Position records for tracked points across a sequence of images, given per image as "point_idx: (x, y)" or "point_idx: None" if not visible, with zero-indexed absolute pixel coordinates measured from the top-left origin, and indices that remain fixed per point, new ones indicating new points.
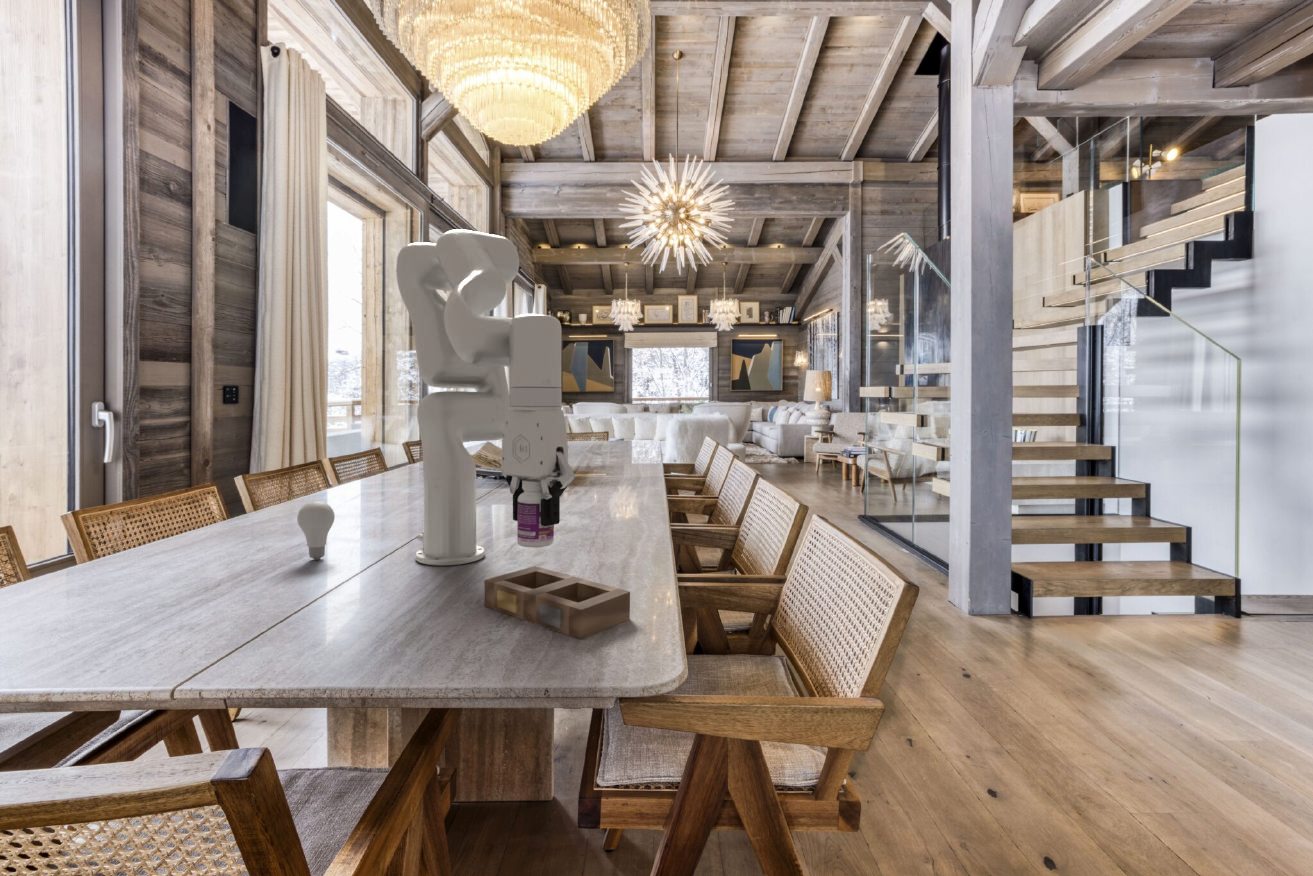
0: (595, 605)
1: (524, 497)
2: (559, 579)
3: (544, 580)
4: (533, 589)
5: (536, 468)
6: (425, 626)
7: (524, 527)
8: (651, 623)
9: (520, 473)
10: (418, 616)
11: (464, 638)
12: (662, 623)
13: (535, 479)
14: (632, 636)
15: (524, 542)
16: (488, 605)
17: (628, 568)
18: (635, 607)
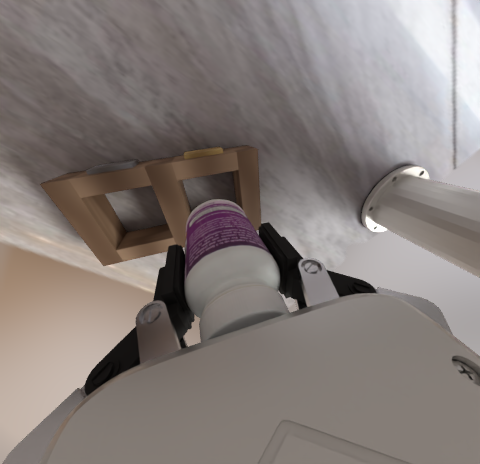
0: (62, 211)
1: (225, 263)
2: None
3: None
4: (174, 180)
5: (114, 453)
6: (231, 19)
7: (208, 216)
8: (92, 256)
9: (262, 338)
10: (274, 41)
11: (147, 37)
12: (87, 263)
13: None
14: (56, 224)
15: (205, 203)
16: (240, 146)
17: None
18: (147, 264)
